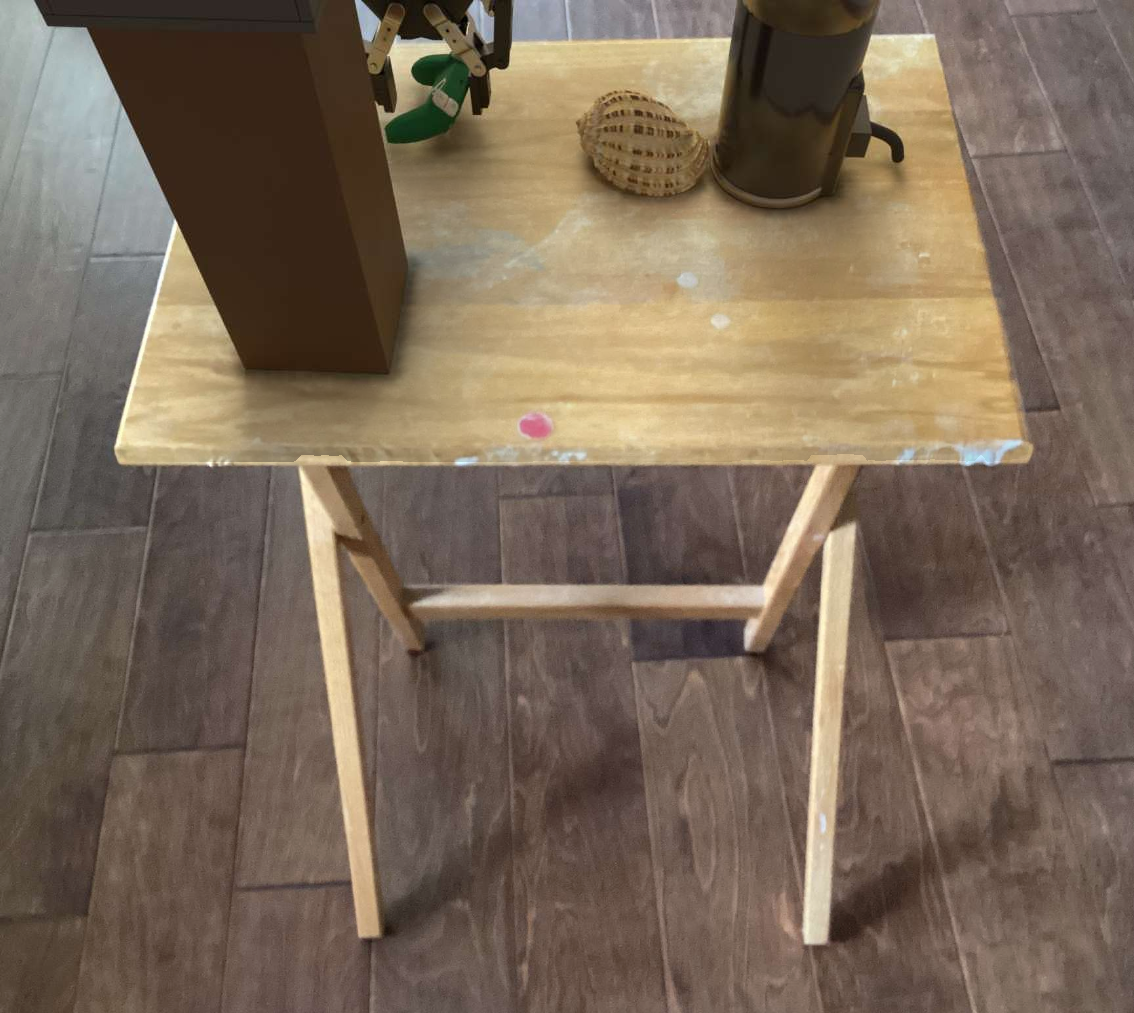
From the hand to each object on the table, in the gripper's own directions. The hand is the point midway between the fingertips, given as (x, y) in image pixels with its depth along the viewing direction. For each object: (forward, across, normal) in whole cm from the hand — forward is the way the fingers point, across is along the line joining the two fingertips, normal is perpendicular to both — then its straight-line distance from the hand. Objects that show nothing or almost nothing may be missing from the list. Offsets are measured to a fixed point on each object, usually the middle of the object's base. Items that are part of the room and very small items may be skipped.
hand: (435, 107), depth 78 cm
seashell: (+2, +17, -4) cm, 17 cm away
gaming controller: (+1, 0, 0) cm, 1 cm away
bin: (+1, -5, -21) cm, 21 cm away
